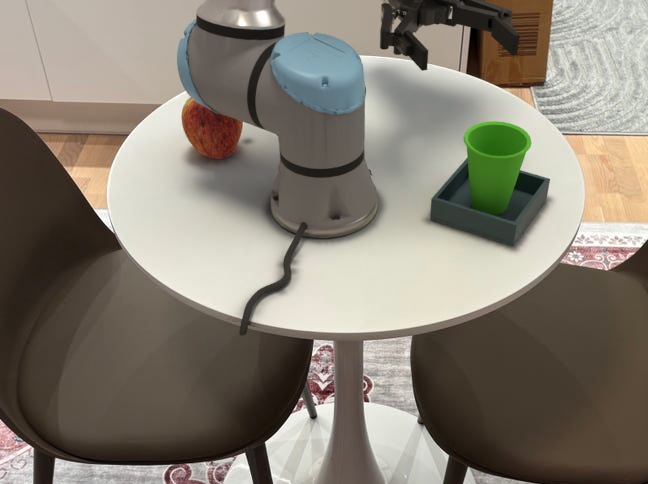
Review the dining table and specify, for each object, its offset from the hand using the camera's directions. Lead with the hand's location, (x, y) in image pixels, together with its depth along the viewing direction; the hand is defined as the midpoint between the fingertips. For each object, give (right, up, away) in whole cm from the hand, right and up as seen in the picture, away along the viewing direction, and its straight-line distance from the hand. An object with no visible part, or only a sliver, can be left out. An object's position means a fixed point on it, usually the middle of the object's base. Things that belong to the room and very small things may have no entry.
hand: (471, 53), depth 114 cm
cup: (+3, -20, +7) cm, 21 cm away
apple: (-38, -9, +18) cm, 42 cm away
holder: (+3, -20, +7) cm, 21 cm away
